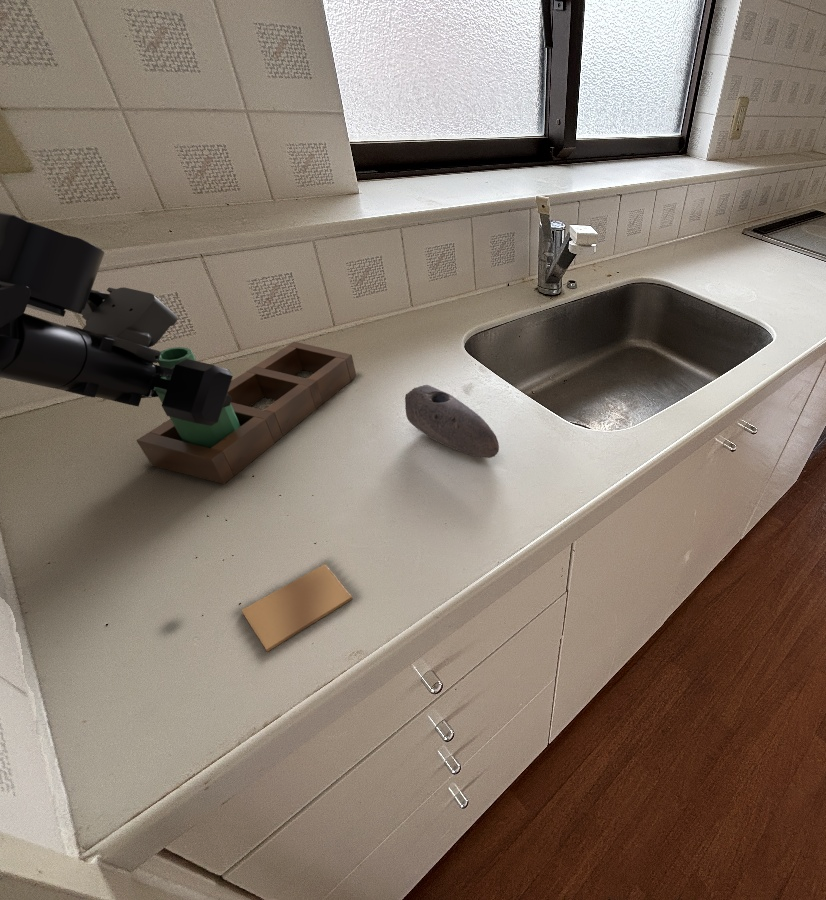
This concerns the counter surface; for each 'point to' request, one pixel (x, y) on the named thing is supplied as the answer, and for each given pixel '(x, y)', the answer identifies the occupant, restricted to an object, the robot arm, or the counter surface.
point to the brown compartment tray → (256, 412)
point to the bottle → (190, 430)
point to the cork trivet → (296, 606)
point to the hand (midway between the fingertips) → (206, 395)
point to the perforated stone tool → (450, 422)
